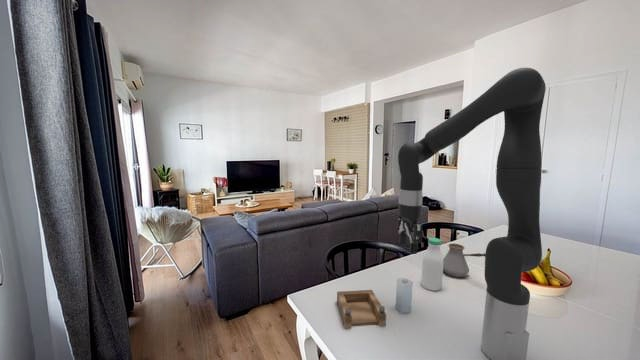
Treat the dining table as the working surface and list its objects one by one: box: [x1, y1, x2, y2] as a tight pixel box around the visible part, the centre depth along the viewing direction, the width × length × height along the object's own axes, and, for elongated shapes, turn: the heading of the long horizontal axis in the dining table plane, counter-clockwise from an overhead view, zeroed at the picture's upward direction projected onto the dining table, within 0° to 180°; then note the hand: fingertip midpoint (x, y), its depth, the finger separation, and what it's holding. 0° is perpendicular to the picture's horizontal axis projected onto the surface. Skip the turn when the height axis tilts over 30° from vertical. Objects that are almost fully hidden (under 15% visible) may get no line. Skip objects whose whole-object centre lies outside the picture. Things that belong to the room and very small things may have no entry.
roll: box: [395, 277, 414, 314], centre depth 90 cm, size 5×5×10 cm
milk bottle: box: [420, 237, 444, 292], centre depth 104 cm, size 8×8×20 cm
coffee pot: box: [443, 243, 486, 278], centre depth 111 cm, size 21×12×15 cm, turn 22°
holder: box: [336, 289, 387, 329], centre depth 87 cm, size 14×13×6 cm
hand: (407, 248), depth 89 cm, fingers open, 8 cm apart
